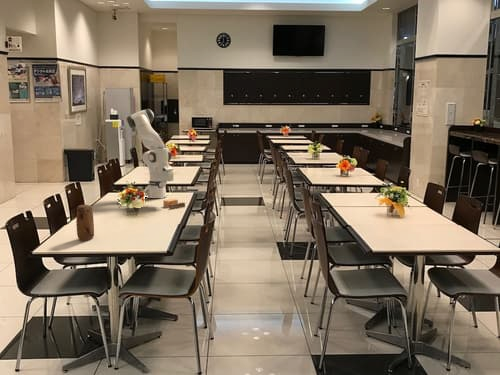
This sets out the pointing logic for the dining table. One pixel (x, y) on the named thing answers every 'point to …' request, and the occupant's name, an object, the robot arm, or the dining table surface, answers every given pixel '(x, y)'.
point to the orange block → (169, 202)
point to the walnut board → (177, 205)
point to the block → (85, 222)
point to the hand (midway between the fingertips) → (164, 186)
